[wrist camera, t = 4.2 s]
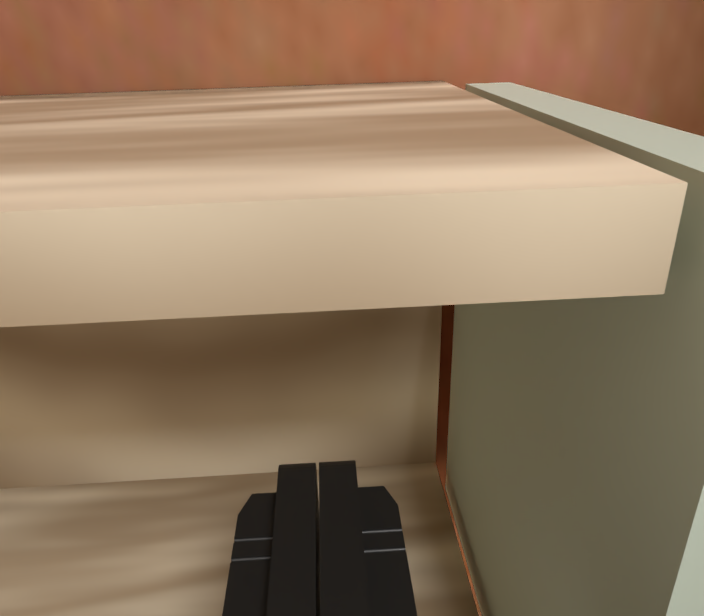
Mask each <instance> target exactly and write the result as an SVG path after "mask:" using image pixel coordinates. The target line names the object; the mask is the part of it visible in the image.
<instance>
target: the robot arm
mask: <svg viewBox="0 0 704 616" xmlns="http://www.w3.org/2000/svg"><path fill="white" fill-rule="evenodd" d="M222 616H417V610H416V605H415V599H414V593H413V587H412V582H411V576H410V570H409V565H408V559H407V553H406V549H405V542H404V536H403V532H402V524H401V519H400V513H399V507H398V504H397V503H396V501H395V500H394V499H393V497H392V496H391V495H390V493H389V492H388V491H387V489H386V488H385V487H384V486H372V487H358V482H357V471H356V462H355V460H350V461H332V462H319V501H318V485H317V469H316V463H300V464H282V465H279V467H278V478H277V490H276V492H273V493H256V494H251V496H250V497H249V499H248V500H247V502H246V503H245V505H244V506H243V508H242V509H241V511H240V512H239V514H238V517H237V523H236V530H235V536H234V543H233V549H232V555H231V563H230V568H229V574H228V581H227V587H226V594H225V600H224V606H223V613H222Z"/></svg>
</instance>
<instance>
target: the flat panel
mask: <svg viewBox="0 0 704 616" xmlns="http://www.w3.org/2000/svg"><path fill="white" fill-rule="evenodd" d="M466 91H468V92H471V93H473V94H475V95H478V96H480V97H483V98H485V99H487V100H490V101H492V102H495V103H497V104H500V105H502V106H504V107H507V108H509V109H512V110H514V111H516V112H519V113H521V114H524V115H526V116H528V117H531V118H533V119H536V120H538V121H540V122H543V123H545V124H548V125H550V126H552V127H555V128H557V129H560V130H562V131H564V132H567V133H569V134H572V135H574V136H576V137H579V138H581V139H584V140H586V141H589V142H591V143H593V144H596V145H598V146H601V147H603V148H605V149H608V150H610V151H613V152H615V153H617V154H620V155H622V156H625V157H627V158H629V159H632V160H634V161H637V162H639V163H641V164H644V165H646V166H649V167H651V168H653V169H656V170H658V171H661V172H663V173H665V174H668V175H670V176H673V177H675V178H678V179H680V180H682V181H685V182H687V183H688V185H687V190H686V195H685V199H684V204H683V209H682V213H681V218H680V223H679V227H678V232H677V236H676V241H675V246H674V250H673V255H672V260H671V264H670V269H669V274H668V278H667V283H666V288H665V292H664V294H658V295H638V296H618V297H598V298H578V299H558V300H538V301H518V302H498V303H478V304H458V305H455V307H454V327H453V347H452V366H451V386H450V406H449V425H448V445H447V465H446V484H445V488H446V492H447V495H448V499H449V502H450V506H451V509H452V513H453V516H454V520H455V523H456V527H457V530H458V534H459V537H460V541H461V544H462V548H463V551H464V555H465V558H466V562H467V565H468V569H469V572H470V576H471V579H472V583H473V586H474V590H475V593H476V597H477V600H478V604H479V607H480V611H481V614H482V616H704V137H703V136H700V135H696V134H692V133H689V132H685V131H682V130H678V129H675V128H671V127H667V126H664V125H660V124H657V123H653V122H650V121H646V120H642V119H639V118H635V117H632V116H628V115H625V114H621V113H618V112H614V111H610V110H607V109H603V108H600V107H596V106H593V105H589V104H585V103H582V102H578V101H575V100H571V99H568V98H564V97H561V96H557V95H553V94H550V93H546V92H543V91H539V90H536V89H532V88H528V87H525V86H521V85H518V84H514V83H511V82H505V83H476V84H466Z"/></svg>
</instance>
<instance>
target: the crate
mask: <svg viewBox="0 0 704 616" xmlns="http://www.w3.org/2000/svg"><path fill="white" fill-rule="evenodd" d="M687 185H688V183H687V182H685V181H682V180H680V179H678V178H675V177H673V176H670V175H668V174H665V173H663V172H661V171H658V170H656V169H653V168H651V167H649V166H646V165H644V164H641V163H639V162H637V161H634V160H632V159H629V158H627V157H625V156H622V155H620V154H617V153H615V152H613V151H610V150H608V149H605V148H603V147H601V146H598V145H596V144H593V143H591V142H589V141H586V140H584V139H581V138H579V137H576V136H574V135H572V134H569V133H567V132H564V131H562V130H560V129H557V128H555V127H552V126H550V125H548V124H545V123H543V122H540V121H538V120H536V119H533V118H531V117H528V116H526V115H524V114H521V113H519V112H516V111H514V110H512V109H509V108H507V107H504V106H502V105H500V104H497V103H495V102H492V101H490V100H487V99H485V98H483V97H480V96H478V95H475V94H473V93H471V92H468V91H466V90H463V89H461V88H459V87H456V86H454V85H451V84H449V83H447V82H444V81H421V82H392V83H363V84H334V85H305V86H276V87H247V88H218V89H189V90H160V91H131V92H103V93H74V94H45V95H16V96H0V616H222V613H223V606H224V600H225V594H226V587H227V581H228V574H229V568H230V563H231V555H232V549H233V543H234V536H235V530H236V523H237V517H238V514H239V512H240V511H241V509H242V508H243V506H244V505H245V503H246V502H247V500H248V499H249V497H250V496H251V494H256V493H273V492H276V490H277V478H278V467H279V465H282V464H300V463H316V469H317V485H318V501H319V462H332V461H350V460H355V462H356V471H357V482H358V487H372V486H384V487H385V488H386V489H387V491H388V492H389V493H390V495H391V496H392V497H393V499H394V500H395V501H396V503H397V504H398V507H399V513H400V519H401V524H402V532H403V536H404V542H405V549H406V553H407V559H408V565H409V570H410V576H411V582H412V587H413V593H414V599H415V605H416V610H417V616H478V612H477V608H476V605H475V601H474V598H473V594H472V591H471V587H470V583H469V580H468V576H467V573H466V569H465V566H464V562H463V558H462V555H461V551H460V548H459V544H458V541H457V537H456V533H455V530H454V526H453V523H452V519H451V516H450V512H449V508H448V505H447V501H446V498H445V494H444V491H443V487H442V483H441V480H440V476H439V473H438V469H437V466H436V441H437V417H438V392H439V368H440V344H441V319H442V305H458V304H478V303H498V302H518V301H538V300H558V299H578V298H598V297H618V296H638V295H658V294H664V292H665V288H666V283H667V278H668V274H669V269H670V264H671V260H672V255H673V250H674V246H675V241H676V236H677V232H678V227H679V223H680V218H681V213H682V209H683V204H684V199H685V195H686V190H687Z"/></svg>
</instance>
